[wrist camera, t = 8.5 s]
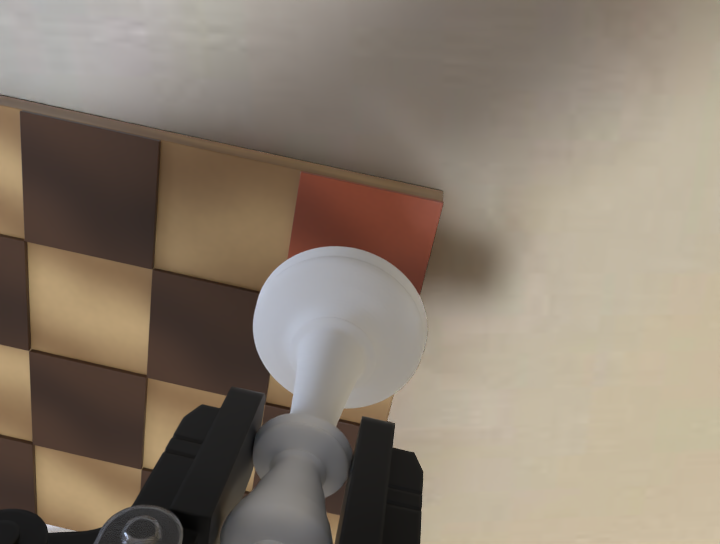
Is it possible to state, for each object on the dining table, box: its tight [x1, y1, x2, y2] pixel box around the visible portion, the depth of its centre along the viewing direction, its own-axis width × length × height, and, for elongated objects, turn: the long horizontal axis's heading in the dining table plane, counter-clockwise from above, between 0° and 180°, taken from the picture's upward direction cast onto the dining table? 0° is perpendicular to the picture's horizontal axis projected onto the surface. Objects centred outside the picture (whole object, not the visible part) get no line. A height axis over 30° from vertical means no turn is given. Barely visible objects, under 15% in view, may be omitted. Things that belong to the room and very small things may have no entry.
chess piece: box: [220, 246, 428, 544], centre depth 14 cm, size 5×5×10 cm
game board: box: [0, 95, 443, 544], centre depth 28 cm, size 20×20×1 cm
